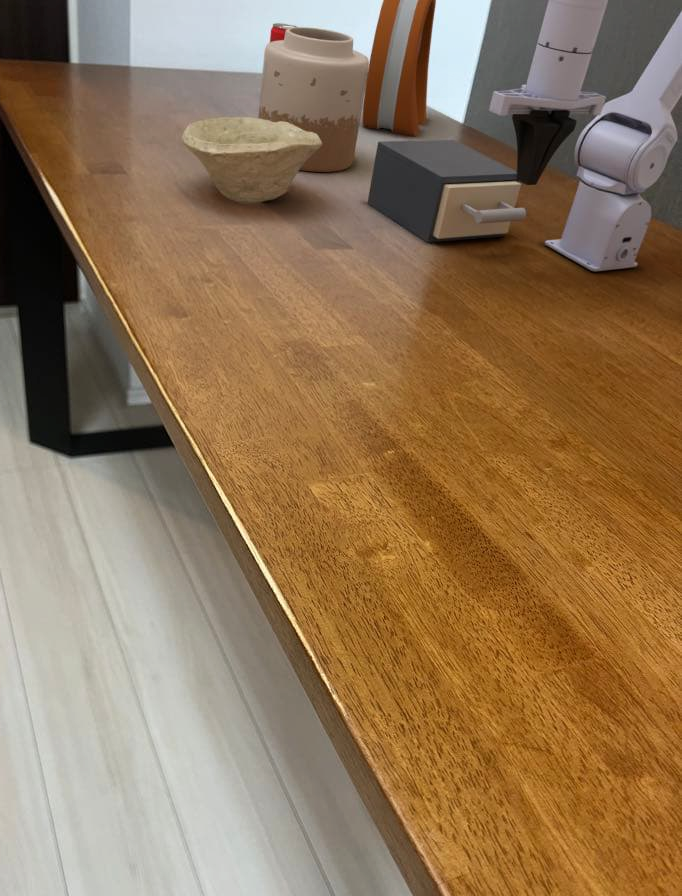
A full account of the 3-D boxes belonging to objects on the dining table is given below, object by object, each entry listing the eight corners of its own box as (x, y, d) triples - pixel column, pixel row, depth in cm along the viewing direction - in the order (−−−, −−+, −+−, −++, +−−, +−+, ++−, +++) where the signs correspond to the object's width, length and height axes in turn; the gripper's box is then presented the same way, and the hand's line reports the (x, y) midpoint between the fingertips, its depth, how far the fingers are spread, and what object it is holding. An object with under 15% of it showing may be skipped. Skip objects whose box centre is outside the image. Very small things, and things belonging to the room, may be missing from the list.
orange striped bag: (413, 141, 147) (444, -13, 133) (357, 131, 149) (382, -23, 134) (428, 115, 164) (457, -25, 150) (378, 105, 165) (402, -34, 151)
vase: (367, 158, 136) (388, 39, 125) (328, 179, 125) (347, 50, 114) (282, 136, 140) (295, 19, 130) (237, 155, 129) (247, 28, 119)
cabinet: (503, 236, 114) (521, 173, 109) (427, 242, 109) (442, 176, 104) (440, 199, 124) (453, 139, 119) (367, 203, 118) (377, 141, 113)
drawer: (530, 246, 109) (545, 196, 105) (459, 252, 105) (472, 200, 101) (447, 198, 121) (458, 151, 117) (380, 202, 117) (389, 153, 113)
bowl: (250, 248, 112) (166, 166, 105) (255, 193, 125) (180, 117, 118) (329, 174, 105) (245, 81, 98) (326, 124, 118) (251, 38, 111)
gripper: (588, 41, 95) (550, 169, 103) (486, 37, 89) (455, 173, 97) (635, 56, 90) (590, 188, 99) (530, 52, 84) (493, 193, 93)
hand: (526, 182), depth 98 cm, fingers closed
